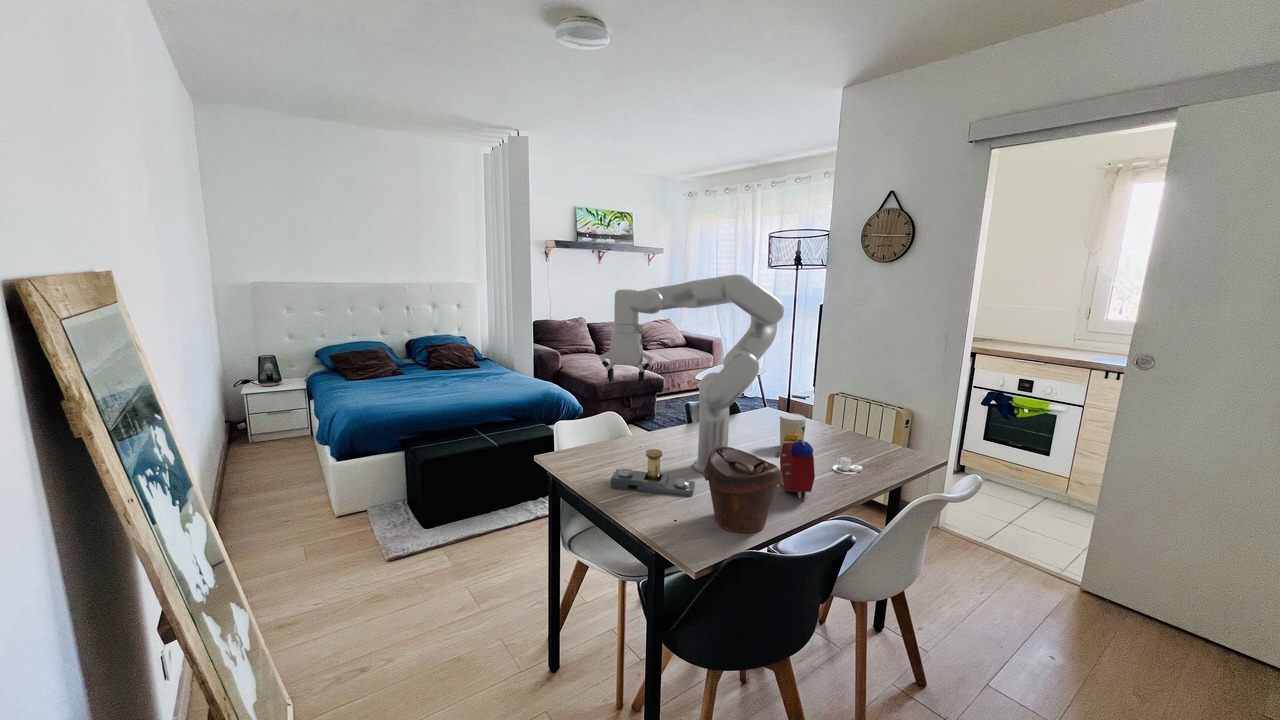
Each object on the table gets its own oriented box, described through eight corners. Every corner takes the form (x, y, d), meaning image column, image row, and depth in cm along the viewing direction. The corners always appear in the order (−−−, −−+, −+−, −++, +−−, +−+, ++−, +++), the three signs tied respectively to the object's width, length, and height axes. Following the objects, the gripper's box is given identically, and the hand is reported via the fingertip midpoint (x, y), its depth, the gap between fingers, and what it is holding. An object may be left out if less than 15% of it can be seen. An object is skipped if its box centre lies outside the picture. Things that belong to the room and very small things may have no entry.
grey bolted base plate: (694, 485, 153) (695, 472, 152) (691, 497, 145) (692, 483, 145) (617, 478, 158) (617, 465, 157) (610, 488, 150) (610, 475, 150)
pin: (662, 485, 153) (663, 450, 152) (660, 491, 149) (660, 455, 147) (647, 483, 154) (647, 448, 153) (643, 489, 150) (644, 454, 148)
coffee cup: (807, 452, 184) (809, 420, 182) (781, 452, 184) (783, 419, 182) (800, 444, 193) (802, 413, 191) (775, 443, 193) (777, 412, 191)
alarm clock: (813, 502, 143) (818, 433, 140) (782, 501, 143) (786, 433, 140) (798, 481, 157) (802, 418, 154) (770, 480, 158) (773, 418, 154)
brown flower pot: (785, 543, 120) (789, 471, 118) (699, 535, 124) (702, 465, 121) (778, 510, 138) (782, 446, 135) (703, 503, 141) (706, 441, 138)
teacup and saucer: (864, 471, 168) (865, 459, 167) (855, 478, 162) (856, 465, 161) (837, 464, 173) (838, 452, 173) (828, 470, 168) (829, 458, 167)
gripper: (655, 328, 162) (654, 381, 165) (603, 327, 165) (603, 378, 168) (651, 331, 155) (650, 386, 158) (596, 329, 158) (596, 383, 161)
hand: (625, 382), depth 163 cm, fingers open, 9 cm apart
